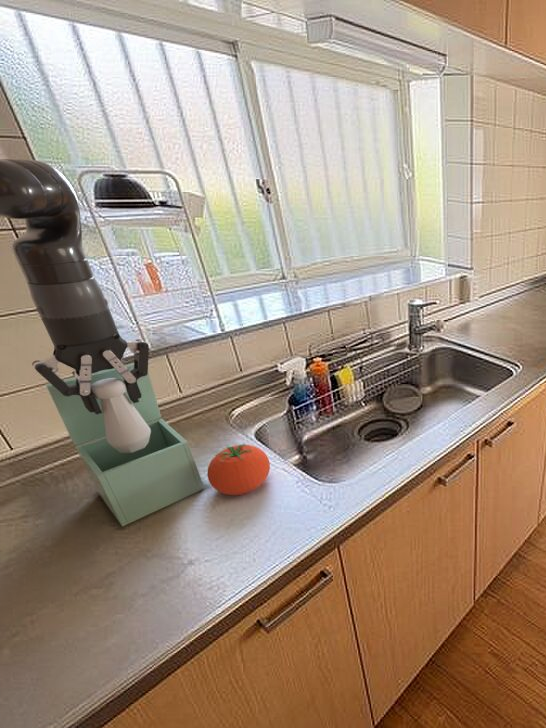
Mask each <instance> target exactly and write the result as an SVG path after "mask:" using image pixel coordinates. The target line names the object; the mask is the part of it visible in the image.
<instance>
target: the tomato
mask: <svg viewBox="0 0 546 728" xmlns="http://www.w3.org/2000/svg"><path fill="white" fill-rule="evenodd" d="M270 469H271V463H270V459H269V457H268V455H267V453H266V452H264V450H262V448H260V447H257V446H254V445H250V444H246V443H244V444H243V443H242V444H237V445H233V446H226V448H224V449H223V450H221V451H220V452H218V453H217V454H215V455H214V457H213V458H212V459H211V461H210V462H209V464H208V467H207V473H206V475H207V480H208V482H209V484H210V485H211V487H212V488H213V489H214V490H215V491H217V492H219V493H221V494H224V495H228V496H240V495H245V494H248V493H250V492H253V491H254V490H256V489H258V488H259V487H260V486H261V485H262V484H263V483H264V482H265V481H266V479H267V478H268V476H269V473H270Z"/></svg>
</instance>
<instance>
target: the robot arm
mask: <svg viewBox="0 0 546 728" xmlns="http://www.w3.org/2000/svg"><path fill="white" fill-rule="evenodd" d="M0 217H1V218H5V219H13V220H25V232H24V234H23V235H21V236H19V237H18V238H16V239H15V240H14V241H13V242H12V244H11V250H12V253H13V256H14V258H15V260H16V262H17V264H18V267H19V269H20V271H21V273H22V275H23V277H24V280H25V281H26V284H27V287H28V290H29V294H30V296H31V300H32V302H33V305H34V306H35V309H36V312H37V313H38V315H39V317H40V319H41V321H42V324H43V326H44V328H45V329H46V332H47V334H48V336H49V338H50V340H51V343H52V345H53V347H54V349H53V352H52V355H51V356H49V357H47V358H45V359H43V360H34V361H33V362H31V365H32V367H33V368H34V369H35V371H36V372H37V373H38V374H39V375H40V376H42V377H43V379H45V380H46V381H47V382H48V383H51V384H52V385H53V386H54V387H55V388H56V389H57V390H58V391H60V392H61V393H62V394H63V395H64V396H71V395H79V396H80V397H81V399H82V401H83V403H84V405H85V408H86V409H87V410H88V411H89V412H91V413H92V412H95V414H96V415H97V414H100V413H102V411H101V409H100V407H99V405H98V402H97V400H96V398H95V396H94V394H93V393H92V392H91V391H90V382H91V374H92V373H96V372H99V371H101V370H109V369H113V368H114V369H115V370H116V371H117V372H118V373H119V374H120V375H121V376H122V378H123V379H124V382H125V383H126V386H127V390H126V391H127V393H128V396H129V398H130V400H131V401H132V402H133V403H137V402H139V400H138V399H139V398H141V396H142V395H141V392H140V389H139V387H138V384H137V380H138V379H139V378H140V377H142V376H146V375H147V374H148V373H149V353H150V345H149V344H148V343H147V342H146V341H144V340H143V339H142V338H138V339H135V340H125V338H123V337H122V336H121V335H120V333H119V331H118V327H117V325H116V323H115V320H114V318H113V315H112V313H111V311H110V307H109V302H108V300H107V297H105V295H104V292H103V290H102V288H101V286H100V285H99V283H98V281H97V279H96V277H95V275H94V272H93V270H92V267H91V265H90V262H89V259H88V258H87V255H86V252H85V251H84V248H83V229H82V219H81V210H80V204H79V200H78V196H77V194H76V191H75V190H74V187H73V186H72V185H71V183H70V181H69V180H68V179H67V178H66V177H65V175H63V173H61V172H60V171H59V170H58V169H57V168H55V167H54V166H52V165H51V164H49V163H46V162H45V161H42V160H41V161H40V160H36V159H29V158H27V159H26V158H24V159H23V158H22V159H21V158H20V159H19V158H0ZM127 349H129V351H130V352H131V354H133V363H134V369H133V370H131V371H129V370H128V369H127V368H126V367H125V366H124V365H125V364H123V362H122V361H121V360H122V358H123V356H124V355H125V352H126V350H127ZM59 363H61V364H62V365H66V366H67V367H69V368H71V369H73V371H74V374H75V385H67V384H66V383H65V382H64V381H63V380H64V379H62V378H61V377H60V376H59V375H58V374H57V373H58V372H59V367H58V364H59Z"/></svg>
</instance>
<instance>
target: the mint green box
mask: <svg viewBox="0 0 546 728" xmlns="http://www.w3.org/2000/svg"><path fill="white" fill-rule="evenodd" d="M146 424H147V425H148V426H149V428H150V429H151V433H150V438H149V442H148V444H147V445H146V446H145V448H143V449H140V450H137V451H135V452H132V453H120V452H119V451H118V450H116V449H115V448H114V447H112V446H111V445H110V444H109V443H108V442H107V438H106V436H103V437H100V438H97V439H94V440H91V441H88V442H85V443H82V444H79V445H76V446H75V449H76V451H77V453H78V454H79V457H80V459H81V461H82V463H83V465H84V467H85V469H86V471H87V472H88V475H89V477H90V479H91V480H92V482H93V484H94V486H95V488H96V490H97V492H98V494H99V496H100V498H101V499H102V500H103V501H104V503H105V504H106V506H107V507H108V508H109V510H110V511H111V513H112V514H113V516H114V517H115V518H116V520H117V521H118V522H119V525H120V526H121V527H124V526H127V525H128V524H131V523H133V522H136V521H137V520H140V519H142V518H144V517H146V516H149V515H151V514H152V513H154V512H157V511H159V510H162V509H163V508H166V507H167V506H170V505H172V504H174V503H176V502H179V501H180V500H182V499H184V498H187V497H189V496H191V495H193V494H195V493H197V492H198V493H199V492H200V491H202V490H204V489H205V486H204V483H203V480H202V478H201V475H200V471H199V470H198V466H197V464H196V461H195V458H194V456H193V453H192V450H191V447H190V445H189V442H188V441H187V440H186V439H185V438H184V437H183V436H182V435H181V434H179V433H178V432H177V431H176V430H175V429H174V428H173V427H171V426H170V425H169V424H168V423H167V422H166V421H165V420H164V419H163V418H158V419H154V420H151V421H148V422H146Z"/></svg>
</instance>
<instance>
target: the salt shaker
mask: <svg viewBox="0 0 546 728" xmlns="http://www.w3.org/2000/svg"><path fill="white" fill-rule="evenodd" d="M90 389H91V392H92V393H93V394H94V396H95V398H98V399H101V405H102V412H103V418H104V425H105V432H106V436H105V437H106V438H107V442H108V443H109V444H110V445H111V446H112V447H114V448H115V449H116V450H118V451H119V452H120V453H132V452H135V451H137V450H140V449H143V448H145V446H146V445H147V444H148V442H149V438H150V433H151V429H150V428H149V426H148V425H147V424H146V423H147V422H145V421H144V419H143V418H142V417H141V415H140V414H139V412H138V411H137V410H136V408H135V407H134V406H133V404H132V403H131V401H130V400H129V399H128V397H127V396H126V394H125V392H126V390H127V386H126V383H125V382H124V381H123V380H122V379H119V378H107V379H102V380H99V381H97V382H95V383H93V384H92V386H91V388H90Z"/></svg>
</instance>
